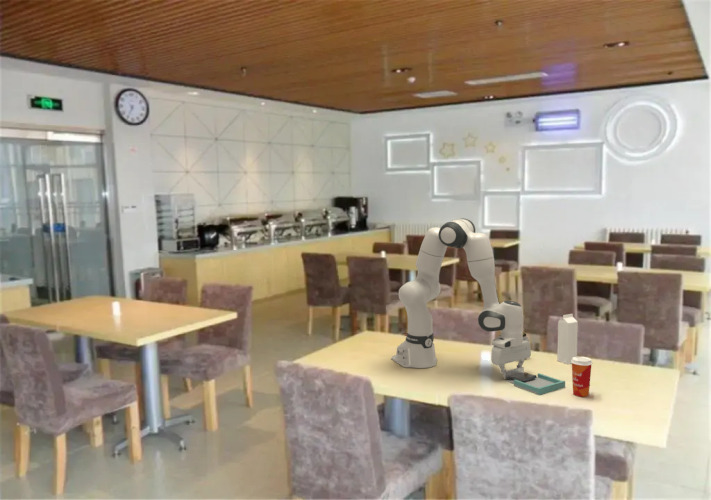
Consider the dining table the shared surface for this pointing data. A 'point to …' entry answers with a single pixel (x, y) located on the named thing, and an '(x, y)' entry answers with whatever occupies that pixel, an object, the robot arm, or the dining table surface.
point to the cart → (518, 374)
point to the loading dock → (539, 384)
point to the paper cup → (581, 375)
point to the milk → (567, 339)
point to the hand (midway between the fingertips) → (511, 371)
